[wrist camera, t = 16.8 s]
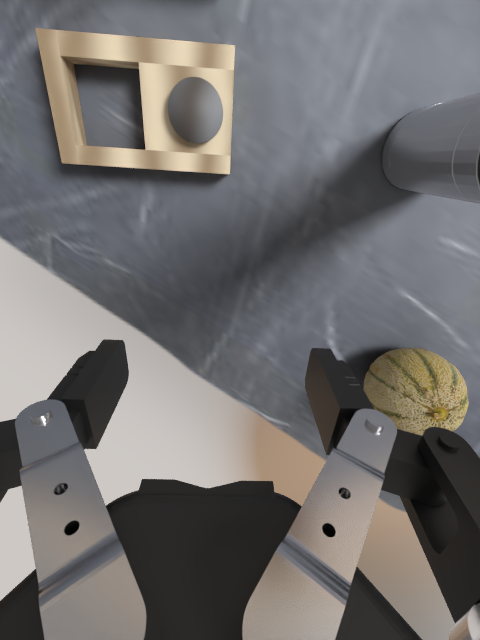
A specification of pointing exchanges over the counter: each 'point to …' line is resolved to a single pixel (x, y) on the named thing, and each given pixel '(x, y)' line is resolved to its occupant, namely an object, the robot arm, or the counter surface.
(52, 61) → the bracket
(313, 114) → the counter surface
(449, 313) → the counter surface
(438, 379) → the cantaloupe
